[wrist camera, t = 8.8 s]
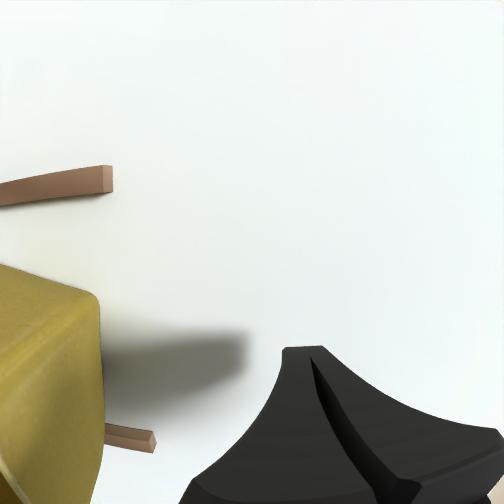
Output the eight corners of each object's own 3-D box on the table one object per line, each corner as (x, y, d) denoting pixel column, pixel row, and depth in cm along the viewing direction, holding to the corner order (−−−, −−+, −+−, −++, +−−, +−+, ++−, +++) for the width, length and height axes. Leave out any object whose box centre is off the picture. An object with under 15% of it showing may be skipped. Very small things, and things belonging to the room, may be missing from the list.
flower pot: (11, 369, 13) (-73, 453, 4) (-6, 226, 11) (-145, 272, 2) (138, 420, 13) (79, 560, 4) (141, 260, 11) (-30, 400, 3)
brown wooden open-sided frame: (156, 443, 14) (153, 453, 13) (-11, 395, 14) (-16, 401, 13) (112, 166, 11) (102, 165, 10) (-60, 201, 11) (-68, 202, 10)
